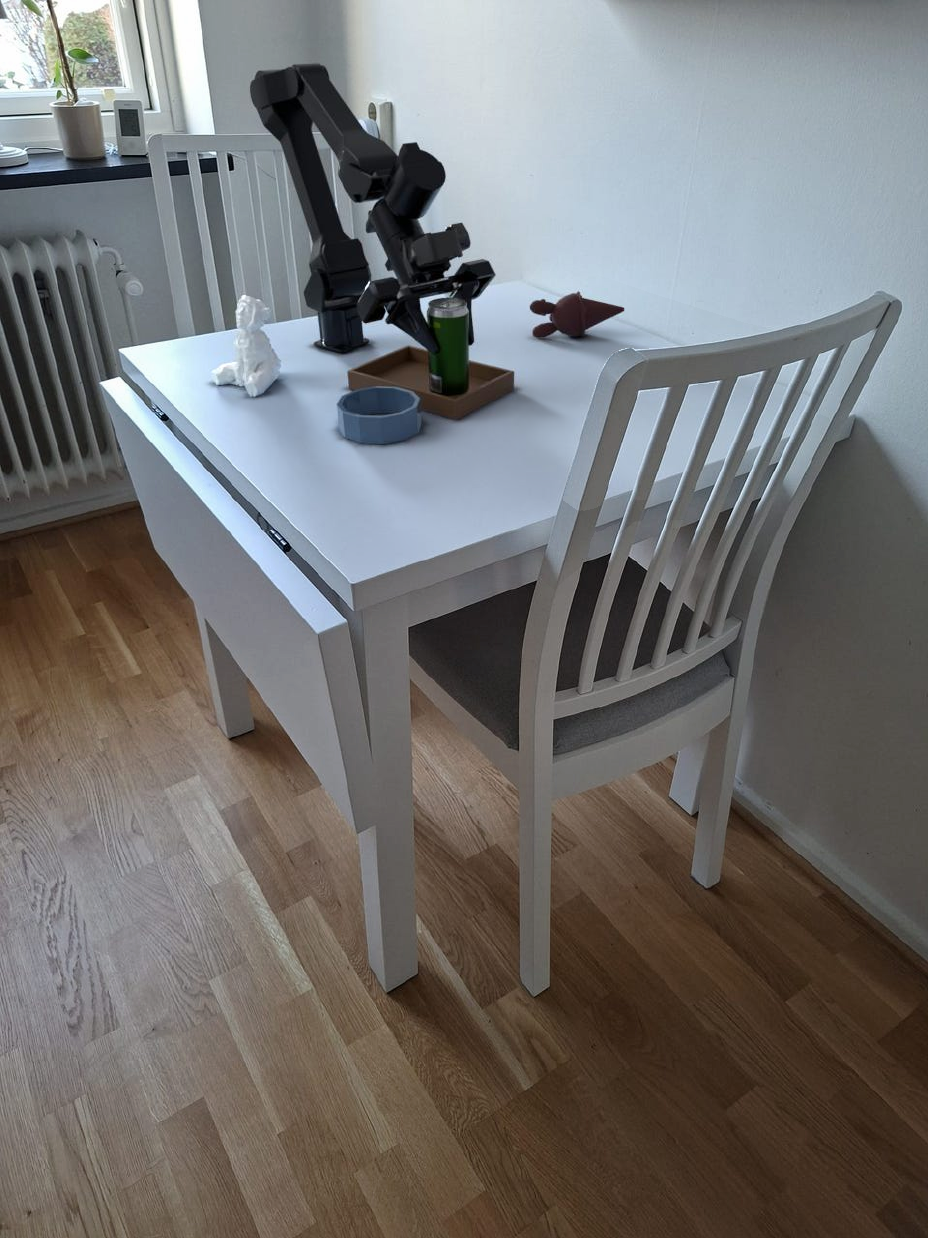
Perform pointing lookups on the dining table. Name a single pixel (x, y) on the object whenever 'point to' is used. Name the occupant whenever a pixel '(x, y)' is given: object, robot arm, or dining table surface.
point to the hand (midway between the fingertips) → (454, 348)
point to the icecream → (572, 315)
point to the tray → (413, 375)
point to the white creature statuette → (251, 351)
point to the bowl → (379, 428)
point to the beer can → (449, 347)
